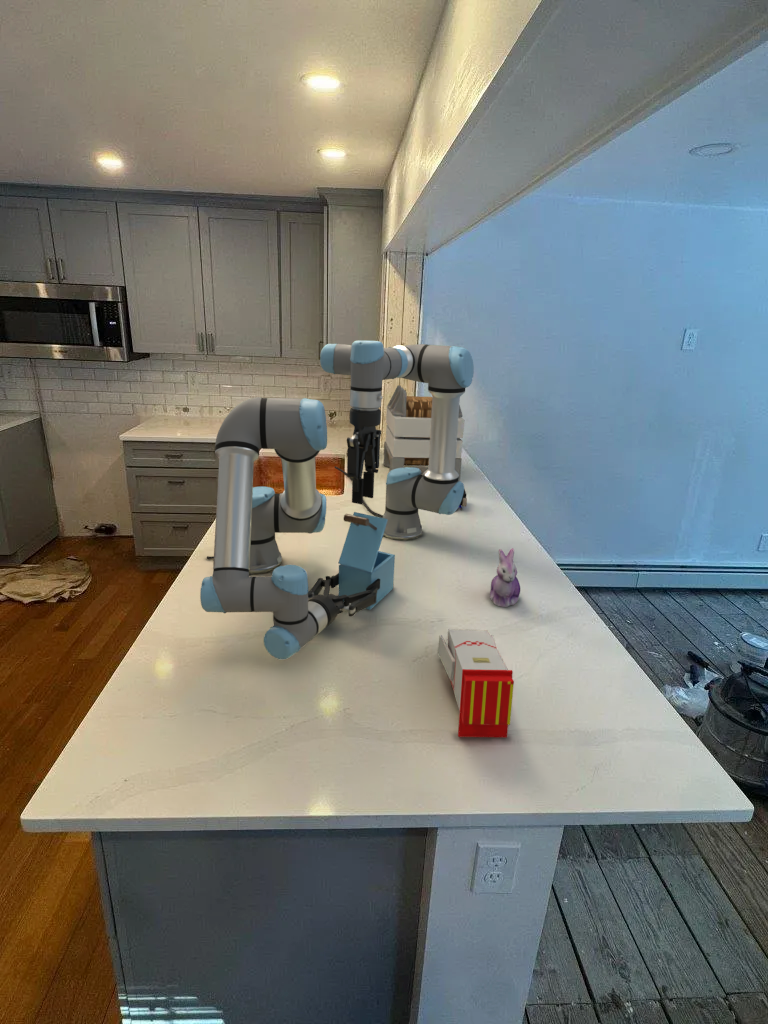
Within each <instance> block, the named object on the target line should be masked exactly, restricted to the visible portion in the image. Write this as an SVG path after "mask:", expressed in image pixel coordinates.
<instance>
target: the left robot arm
mask: <svg viewBox="0 0 768 1024" xmlns="http://www.w3.org/2000/svg"><path fill="white" fill-rule="evenodd" d="M326 448H328V426H327V415H326V409H325V406H324V404H323V402H322V401H320V400H318V399H311V398H307V397H302V398H294V397H293V398H289V397H288V398H287V397H285V398H284V397H258V396H257V397H250V398H247V399H245V400H243V401H242V402H240V403H238V404H237V405H236V406H234V407H233V408H232V409H231V410H230V412H229V413H228V414H227V415H226V417H225V418H224V419H223V421H222V423H221V425H220V427H219V429H218V432H217V435H216V439H215V445H214V456H215V457H216V458H217V459H218V475H217V490H216V492H217V493H216V509H215V510H216V512H215V529H214V532H215V533H214V547H213V556H206V559H208V560H213V564H212V566H213V567H212V570H213V571H212V575H209V576H205V577H204V578H203V579H202V581H201V583H200V585H201V587H200V595H199V596H200V605H201V608H202V609H203V610H204V611H205V612H206V613H223V614H227V613H272V621H273V624H272V626H271V627H269V629H268V630H266V632H265V634H264V636H263V645H264V648H265V649H266V651H267V653H268V654H269V655H270V656H272V657H273V658H274V659H277V660H280V661H284V660H287V659H289V658H291V657H292V656H294V655H295V654H297V653H299V652H300V650H301V649H303V648H304V647H305V646H306V645H307V644H308V643H310V642H311V641H312V640H313V639H314V638H315V637H316V636H318V635H319V634H320V633H321V632H322V631H323V630H325V629H326V628H327V627H328V626H330V625H331V624H332V623H333V622H334V621H335V620H336V618H338V615H340V614H343V613H347V614H348V616H349V617H354V616H355V615H356V614H357V613H359V612H360V611H363V610H365V608H367V607H369V606H371V605H373V604H375V603H376V600H377V590H379V589H380V579H377V580H375V581H374V582H373V583H372V584H371V585H369V586H368V587H367V588H366V591H363V592H359V593H355V594H352V595H348V596H347V595H342V596H338V595H336V594H333V593H330V592H331V589H335V588H336V587H337V586H339V572H338V573H336V574H334V575H332V576H330V575H326V576H325V577H324V578H325V579H324V578H323V577H319V578H317V579H316V581H315V583H314V584H313V585H312V587H311V588H310V590H309V581H308V580H309V578H308V572H307V571H306V569H304V568H303V567H302V566H300V565H296V564H285V565H282V564H283V556H282V553H281V552H280V549H279V545H278V543H277V540H276V534H277V533H279V534H281V533H283V534H284V533H285V534H286V533H288V534H289V533H291V534H295V533H298V534H300V533H301V534H315V533H321V532H322V531H323V530H324V527H325V525H326V516H327V497H326V495H325V494H324V493H320V492H319V490H318V489H317V473H316V472H317V470H316V457H317V456H318V455H319V453H320V452H321V451H324V450H325V449H326ZM260 449H261V450H274V452H275V454H276V456H278V457H279V458H280V460H281V467H282V468H281V470H282V478H283V489H284V490H283V492H281V493H276V492H275V490H274V488H273V487H270V486H254V465H255V461H257V460H258V459H259V454H260ZM270 572H272V573H271V576H267V575H265V576H253V575H259V574H260V575H261V574H267V573H270ZM250 575H251V576H250ZM322 589H323V594H320V593H321V591H322ZM343 599H344V601H343Z"/></svg>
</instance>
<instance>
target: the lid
mask: <svg viewBox="0 0 768 1024" xmlns="http://www.w3.org/2000/svg"><path fill="white" fill-rule="evenodd" d="M343 521H344V522H346V523H350V524H349V527H348V531H347V534H346V537H345V540H344V544H343V546H342V550H341V552H340V556H339V559H338V565H340V564H342V565H346V566H350V567H354V568H357V569H361V570H365V571H369V572H372V571H373V568H374V565H375V561H376V558H377V554H378V551H380V548H381V544H382V541H383V537H384V536H383V534H384V531H385V528H386V524H387V521H388V520H387V519H385V518H382V517H379V516H377V515H370V514H366V513H361V512H356V511H354V512H353V514H350V513H345V514H344V515H343Z"/></svg>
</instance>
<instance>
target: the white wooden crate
mask: <svg viewBox="0 0 768 1024" xmlns="http://www.w3.org/2000/svg"><path fill="white" fill-rule="evenodd" d="M407 394H408V393H407V390H406V389H404V388H403V387H402V385H399V384H398V385H397V386H396V388H395V390H394V392H393V394H392V395H391V398H390V400H389V402H388V404H387V405H386V413H385V414H386V415H385V423H386V428H385V438H384V442H383V466H384V467H388V468H389V472H390V471H391V470H393V469H397V468H405V466H406V467H409V466H411V467H417V466H418V467H429V449H430V431H431V413H432V396H415V395H414V396H413V395H412V396H411V395H407ZM464 429H465V419H464V418H463V411H462V408H461V405H460V404H459V415H458V429H457V443H456V456H455V471H456V472H457V473H458V474H459V478H458V481H461V472H462V461H463V460H462V453H463V442H464V441H463V440H462V439H463V438H464V431H465V430H464Z"/></svg>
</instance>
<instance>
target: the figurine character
mask: <svg viewBox="0 0 768 1024" xmlns="http://www.w3.org/2000/svg"><path fill="white" fill-rule="evenodd" d="M467 503H468V498H467V492H466V489H465V488H464V493H463V497H462V500H461V503H460V505H459V507H458V509H460V511H463V507H464V508H465V507H467Z"/></svg>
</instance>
